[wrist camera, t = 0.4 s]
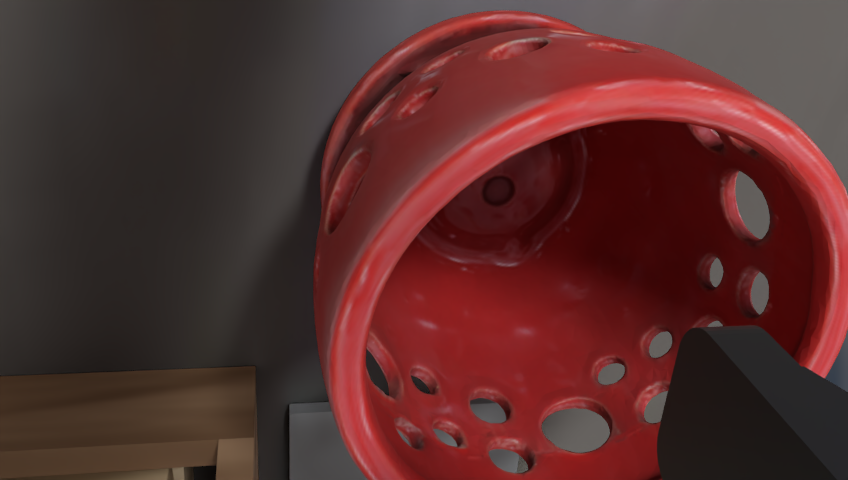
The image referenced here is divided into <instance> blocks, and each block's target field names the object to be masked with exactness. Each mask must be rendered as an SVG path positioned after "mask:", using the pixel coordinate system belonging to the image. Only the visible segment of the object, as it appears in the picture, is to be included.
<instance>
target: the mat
mask: <svg viewBox="0 0 848 480" xmlns="http://www.w3.org/2000/svg"><path fill="white" fill-rule="evenodd" d="M470 406H471V409H472V411H473V413H474V414H475V415H476V416H477V417H479V418H480V419H481V420H484V421H486V422H489V423H502V422H504V421H506V415H505V412H504V410H503V409H502V408H501V407H500V405H499V404H497V403H495V402H493V401H491V400H489V399H485V398H477V399H473V400H471V401H470ZM433 430H434V432H435V434H436V435H437V437H438V438H439V439H440V440H441V441H442V442H444V443H445V444H447V445H450V446H454V447H457V443H456V441H455V440H454V439H453V438H452V437H451V436H450V435H449V434H447V433H445V432H444V431H442V430H439V429H433ZM397 431H398V430H397ZM398 433H399V435H400V436H401V438H402V439H403V440H404V441H405V442H406V443H407V444H408V445H410V443H409V441H408V440H407V439H406V438H405V437H404V436H403V434H402V433H401V432H400V431H398ZM410 446H411V445H410ZM489 456H490V458H491V460H492V461H493V463H494V464H495V465H496V466H497V467H499V468H500V469H502V470H504V471H507V472H512V473H516V472H517V466H518V461H519V455H518V454H517V453H515V452H512V451H509V450H504V449H494V450H490V451H489ZM289 480H367V478H366V477H365V476H364V475H363V473H362V472H361V471H360V469H359V468H358V467H357V466H356V464H355V463H354V461H353V460H352V458H351V456H350V455H349V453H348V451H347V449H346V447H345V445H344V442H343V440H342V438H341V436H340V433H339V431H338V429H337V426H336V423H335V420H334V417H333V414H332V411H331V408H330V403H329V402H317V403H297V404H289Z"/></svg>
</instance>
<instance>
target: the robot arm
mask: <svg viewBox="0 0 848 480" xmlns="http://www.w3.org/2000/svg"><path fill="white" fill-rule="evenodd" d="M657 458H658V465H659V469H660V473H661V476H662V480H848V392H846V391H845V390H843V389H841V388H840V387H838V386H836V385H835V384H833V383H831V382H830V381H828V380H826V379H825V378H823V377H821V376H819V375H818V374H816V373H814V372H813V371H811V370H809V369H808V368H806V367H804V366H802V367H801V366H800V365H799V364H798V363H797V362H796V361H795V360H794V359H793V358H792V357H791V356H790V355H789V354H788V353H787V352H786V351H785V350H784V349H783V348H782V347H781V346H780V345H779V344H778V343H777V342H776V341H775V340H774V339H773V338H772V337H771V336H770V335H769V334H768V333H767V332H766V331H765V330H764V329H762V328H760V327H759V326H755V325H747V326H722V327H697V328H692V329H689V330H688V331H687V332H686V333H685V334H684V336H683V338H682V340H681V342H680V345H679V348H678V353H677V357H676V361H675V365H674V369H673V373H672V377H671V381H670V386H669V390H668V394H667V398H666V402H665V406H664V410H663V415H662V419H661V423H660V427H659V431H658V437H657Z"/></svg>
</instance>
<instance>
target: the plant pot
mask: <svg viewBox="0 0 848 480" xmlns="http://www.w3.org/2000/svg"><path fill="white" fill-rule="evenodd" d="M714 130H715V131H716V132H717V133H718V134H717V133H716V132H714ZM739 171H741V172H743V173H744V174H746V175H747V176H749V177H750V178H751V179H752V180H753V181H754V182H755V184H756V185H757V187H758V188H759V189H760V190H761V191H762V193H763V195H764V197H765V199H766V201H767V205H768V208H769V214H770V225H769V230H768V232H767V233H766V235H765V236H764V238H763V239H758V238H756V237H755V236H754V235H753V234H752V233H751V232H750V231H749V230H748V229H747V227H746V226H745V224H744V222H743V220H742V218H741V216H740V213H739V211H738V207H737V202H736V196H735V183H736V178H737V175H738V172H739ZM320 198H321V208H322V211H321V219H320V226H319V231H318V237H317V243H316V251H315V259H314V279H313V300H314V315H315V328H316V336H317V344H318V352H319V358H320V363H321V369H322V374H323V378H324V383H325V387H326V391H327V395H328V399H329V403H330V408H331V411H332V414H333V417H334V420H335V423H336V426H337V429H338V431H339V433H340V436H341V438H342V440H343V442H344V445H345V447H346V449H347V451H348V453H349V455H350V456H351V458H352V460H353V461H354V463H355V464H356V466H357V467H358V468H359V469H360V471H361V472H362V473H363V475H364V476H365V477H366V478H367V480H662V476H661V473H660V469H659V465H658V458H657V437H658V431H659V427H660V423H661V421H660V422H658V423H648V422H647V421H646V420H645V418H644V410H645V407H646V405H647V403H648V402H649V401H650V400H651V398H653V397H654V396H656V395H658V394H659V393H661V392H664V391H668V390H669V386H670V381H671V377H672V373H673V369H674V365H675V361H676V357H677V353H678V348H679V345H680V342H681V340H682V338H683V336H684V334H685V333H686V332H687V331H688V330H689V329H692V328H697V327H707V326H708V325H709V324H710V323H712V322H714V321H720V322H721V323H722V324H723V326H747V325H755V326H759V327H760V328H762V329H764V330H765V331H766V332H767V333H768V334H769V335H770V336H771V337H772V338H773V339H774V340H775V341H776V342H777V343H778V344H779V345H780V346H781V347H782V348H783V349H784V350H785V351H786V352H787V353H788V354H789V355H790V356H791V357H792V358H793V359H794V360H795V361H796V362H797V363H798V364H799V365H800V366H801V367H802V366H804V367H806V368H808V369H809V370H811V371H813V372H814V373H816V374H818V375H819V376H821V377H823V378H825V377H826V375H827V374H828V372H829V370H830V368H831V367H832V365H833V363H834V361H835V359H836V357H837V355H838V353H839V351H840V348H841V346H842V344H843V342H844V339H845V336H846V333H847V330H848V195H847V192H846V189H845V187H844V185H843V184H842V182H841V180H840V178H839V177H838V175H837V173H836V171H835V169H834V167H833V166H832V164H831V163H830V162H829V161H828V159H827V158H826V157H825V155H824V154H823V153H822V152H821V150H820V149H819V148H818V147H817V145H816V144H815V143H814V142H813V141H812V140H811V139H810V137H809V136H808V135H807V134H806V133H805V132H804V131H803V130H802V129H801V128H800V127H799V126H798V125H796V124H795V123H794V122H793V121H792V120H791V119H789V118H788V117H787V116H786V115H784V114H783V113H782V112H780V111H779V110H777V109H776V108H774V107H772V106H771V105H769V104H767V103H766V102H764V101H763V100H761V99H759V98H758V97H756V96H755V95H753V94H752V93H750V92H749V91H747V90H746V89H744V88H743V87H741V86H739V85H737V84H735V83H734V82H732V81H730V80H728V79H726V78H725V77H723V76H721V75H719V74H717V73H715V72H713V71H711V70H708V69H706V68H704V67H702V66H699V65H697V64H695V63H693V62H690V61H688V60H686V59H684V58H681V57H679V56H677V55H675V54H672V53H670V52H667V51H664V50H662V49H659V48H656V47H652V46H649V45H646V44H642V43H637V42H631V41H626V40H620V39H614V38H610V37H606V36H602V35H598V34H593V33H589V32H585V31H584V30H582V29H580V28H578V27H576V26H574V25H572V24H570V23H567V22H565V21H562V20H559V19H556V18H553V17H550V16H546V15H541V14H536V13H530V12H522V11H486V12H478V13H471V14H466V15H463V16H459V17H455V18H451V19H448V20H445V21H442V22H440V23H437V24H435V25H432V26H430V27H428V28H426V29H424V30H422V31H420V32H418V33H416V34H414V35H412V36H411V37H409V38H407V39H406V40H404V41H403V42H401V43H400V44H399V45H397V46H396V47H395V48H393V49H392V50H391V51H389V52H388V53H387V54H385V55H384V56H383V57H382V58H380V59H379V60H378V61H377V62H376V63H375V64H374V65H373V66H372V67H371V68H370V70H369V71H368V72H367V73H366V74H365V75H364V76H363V77H362V78H361V80H360V81H359V82H358V83H357V84H356V86H355V87H354V88H353V90H352V91H351V92H350V94H349V96H348V97H347V99H346V100H345V102H344V104H343V106H342V107H341V109H340V111H339V113H338V115H337V117H336V119H335V121H334V124H333V126H332V129H331V131H330V134H329V137H328V140H327V143H326V147H325V151H324V156H323V162H322V168H321V178H320ZM716 258H719V260H720V262H721V264H722V266H723V271H724V273H723V277H722V280H721V282H720V284H719V285H718V287H714V286H713V285H712V283H711V281H710V268H711V264H712V263H713V261H714V260H715V259H716ZM759 272H761V273H763V274H764V275H765V277H766V278H767V280H768V284H769V299H768V302H767V305H766V307H765V310H764V312H763V313H761V314H760V315H759V314H758V313H757V312H756V311H755V309H754V308H753V304H752V300H751V288H752V284H753V281H754V279H755V277H756V276H757V274H758V273H759ZM665 331H668V332H670V334H671V335H672V346H671V348H670V349H669V351H668V352H667V353H666V354H664V355H663V356H661V357H659V358H652V357H651V356H650V354H649V346H650V343H651V341H652V339H653V338H654V337H655V336H656V335H657V334H659V333H660V332H665ZM366 349H367V350H368V351H369V352H370V353H371V354H372V356H373V357H374V359H375V360H376V362H377V363H378V365H379V366H380V368H381V370H382V372H383V374H384V375H385V378H386V381H387V384H388V388H389V396H388V395H386V394H385V393H384V392H383V391H382V390H381V389H380V388H378V387H377V386H376V385H374V383H373V382H372V381H371V378H370V376H369V373H368V370H367V368H366ZM613 363H620V364H622V365H624V367H625V374H624V376H623V377H622V378H621V379H620V380H619V381H618V382H616V383H614V384H609V385H602V384H600V383H599V382H598V374H599V372H600V371H601V369H602V368H603V367H605V366H607V365H609V364H613ZM411 375H412V376H415V377H417V378H419V379H421V380H422V381H423V382H424V383H425V384H426V385H427V387H428V389H429V391H430V394H426V393H423V392H421V391H420V390H419V389H417V387H416V386H415V384H414V383H413V381H412V378H411ZM477 398H485V399H489V400H491V401H493V402H495V403H497V404H499V405H500V407H501V408H502V409H503V410H504V412H505V415H506V421H504V422H502V423H489V422H486V421H484V420H481V419H480V418H479V417H477V416H476V415H475V414H474V413H473V411H472V409H471V406H470V401H471V400H473V399H477ZM571 408H579V409H588V410H591V411H593V412H596V413H597V414H599V415H601V416H602V417H603V418H604V419H605V420H606V422H607V423H608V426H609V429H610V435H609V438H608V439H607V441H606V442H605V443H604V444H603V445H602V446H601V447H599V448H598V449H596V450H593V451H590V452H585V453H575V452H571V451H567V450H563V449H561V448H558V447H557V446H555V445H554V444H553V443H552V442H551V441H549V440H548V439H547V438H546V437H545V435H544V434H543V432H542V427H541V426H542V423H543V421H544V419H545V418H547V417H548V416H549V415H551V414H552V413H554V412H556V411H560V410H564V409H571ZM433 429H439V430H442V431H444V432H445V433H447V434H449V435H450V436H451V437H452V438H453V439H454V440H455V441H456V443H457V447H454V446H450V445H447V444H445V443H444V442H442V441H441V440H440V439H439V438H438V437H437V435H436V434H435V432H434V430H433ZM397 430H398V431H400V432H401V433H402V434H403V436H404V437H405V438H406V439H407V440H408V441H409V443H410V445H411V446H410V445H408V444H407V443H406V442H405V441H404V440H403V439H402V438H401V436H400V435H399V433H398V431H397ZM494 449H504V450H509V451H512V452H515V453H517V454H518V455H520V456H521V457H522V458H523V459H524V460H525V461H526V463H527V465H528V470H527V471H525V472H523V473H512V472H507V471H504V470H502V469H500V468H499V467H497V466H496V465H495V464H494V463H493V461H492V460H491V458H490V456H489V451H490V450H494Z"/></svg>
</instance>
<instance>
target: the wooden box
mask: <svg viewBox="0 0 848 480" xmlns="http://www.w3.org/2000/svg"><path fill="white" fill-rule="evenodd" d="M212 465H217V469H216V480H259V473H258V437H257V401H256V366H244V367H219V368H194V369H169V370H145V371H120V372H95V373H70V374H46V375H21V376H0V479H2V478H18V477H34V476H51V475H67V474H83V473H99V472H115V471H131V470H148V469H164V468H180V467H196V466H212Z"/></svg>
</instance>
